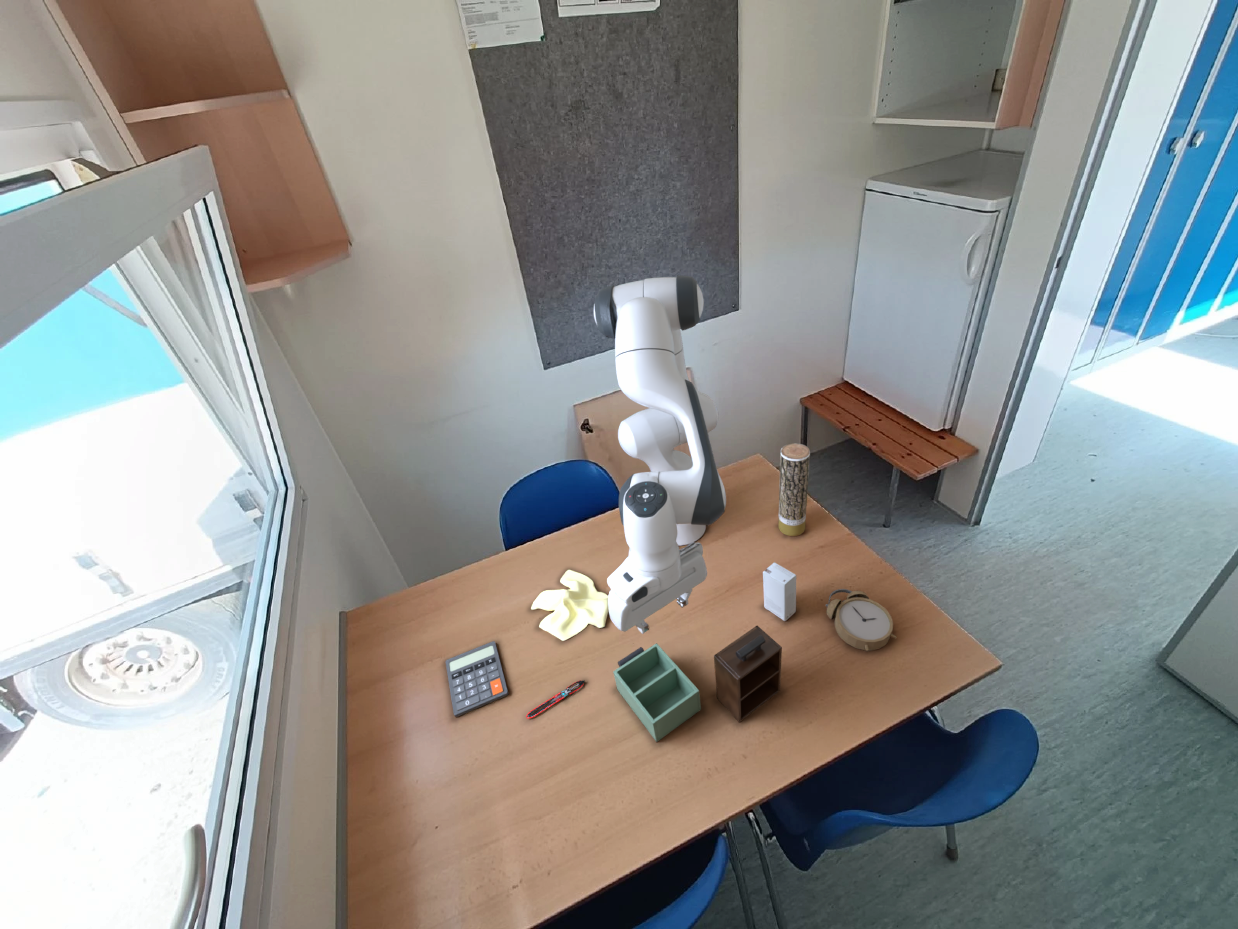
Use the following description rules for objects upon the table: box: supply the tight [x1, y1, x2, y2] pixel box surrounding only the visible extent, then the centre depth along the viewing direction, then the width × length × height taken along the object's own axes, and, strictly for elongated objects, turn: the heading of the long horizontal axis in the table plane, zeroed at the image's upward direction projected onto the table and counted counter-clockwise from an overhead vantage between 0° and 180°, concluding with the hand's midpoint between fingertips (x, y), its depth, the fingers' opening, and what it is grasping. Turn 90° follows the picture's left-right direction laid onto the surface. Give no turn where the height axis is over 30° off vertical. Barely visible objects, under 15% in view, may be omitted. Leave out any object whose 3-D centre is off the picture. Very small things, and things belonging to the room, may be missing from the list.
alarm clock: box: [825, 588, 897, 652], centre depth 122 cm, size 11×5×15 cm
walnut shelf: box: [713, 625, 783, 723], centre depth 108 cm, size 17×11×6 cm
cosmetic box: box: [762, 561, 797, 622], centre depth 125 cm, size 6×4×12 cm
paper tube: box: [777, 442, 811, 537], centre depth 142 cm, size 7×7×25 cm
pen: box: [525, 679, 586, 719], centre depth 118 cm, size 2×14×1 cm, turn 122°
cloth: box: [530, 569, 609, 642], centre depth 137 cm, size 22×19×6 cm
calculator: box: [445, 640, 509, 718], centre depth 125 cm, size 12×1×15 cm
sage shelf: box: [612, 643, 702, 743], centre depth 114 cm, size 17×11×6 cm, turn 33°
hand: (663, 616), depth 107 cm, fingers open, 8 cm apart
